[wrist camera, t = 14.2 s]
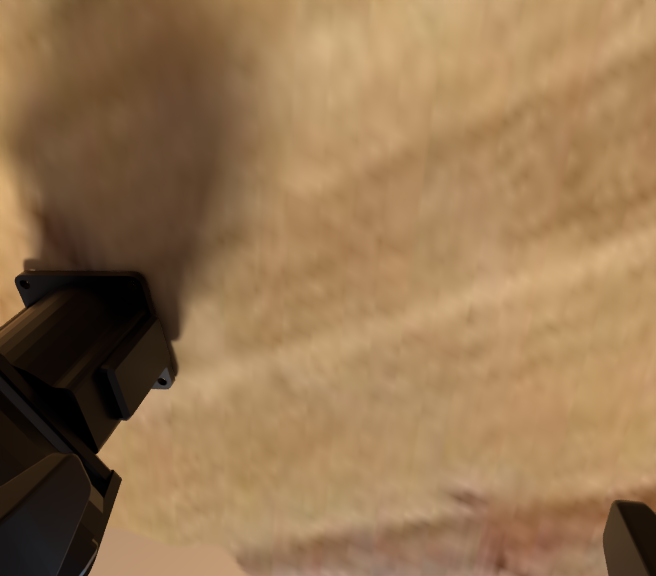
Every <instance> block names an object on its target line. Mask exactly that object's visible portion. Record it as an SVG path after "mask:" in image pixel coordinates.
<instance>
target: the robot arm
mask: <svg viewBox="0 0 656 576" xmlns="http://www.w3.org/2000/svg"><path fill="white" fill-rule="evenodd" d="M131 281H133V282H135V283H136V285H137V286H135V285H133V284H132V282H131ZM27 282H28V283H27ZM15 284H16V287H17V289H18V291H19V293H20V296H21V298H22V300H23V302H24V305H25V308H24V309H23V310H22V311H20V312H19V313H18V314H17V315H15V316H14V317H13V318H11V319H10V320H9V321H8V322H6V323H5V324H4V325H3V326H1V327H0V576H88V574H89V573H90V571H91V569H92V566H93V564H94V562H95V559H96V556H97V553H98V550H99V547H100V544H101V541H102V538H103V535H104V532H105V529H106V526H107V523H108V520H109V517H110V514H111V511H112V508H113V505H114V502H115V499H116V496H117V493H118V490H119V487H120V484H121V481H122V478H121V477H120V476H119V475H118V474H117V473H116V472H115V471H114V470H110V469H109V468H108V467H107V466H106V465H105V464H104V463H103V462H102V461H101V459H100V458H99V457H98V456H97V455H96V454H97V453H98V452H99V451H100V449H101V448H102V446H103V445H104V444H105V442H106V441H107V439H108V438H109V437H110V435H111V434H112V432H113V431H114V430H115V428H116V427H117V426H118V424H119V423H120V421H121V420H124V421H127V420H129V419H130V418H131V416H132V415H133V414H134V413H135V411H136V410H137V408H138V407H139V405H140V404H141V402H142V401H143V400H144V398H145V397H146V395H147V394H148V392H149V391H150V390H151V389H169V388H170V387H171V386H172V384H173V383H174V381H175V376H174V372H173V369H172V366H171V362H170V361H171V358H170V355H169V351H168V348H167V345H166V341H165V338H164V335H163V331H162V328H161V325H160V321H159V319H158V317H157V315H156V312H155V309H154V305H153V302H152V299H151V295H150V292H149V289H148V285H147V282H146V280H145V278H144V277H143V276H142V275H141V274H139V273H138V272H110V271H24V272H22V273H21V274H19V275H18V276H17V277H16V278H15ZM163 378H164V379H165V380H164V379H163ZM603 548H604V554H605V559H606V564H607V570H608V575H609V576H656V513H655V512H654V511H653V510H652V509H651V508H650V507H649V506H648V505H647V504H645V503H643V502H640V501H629V500H615V501H614V502H613V503H612V505H611V508H610V512H609V515H608V519H607V522H606V526H605V529H604V533H603Z"/></svg>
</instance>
